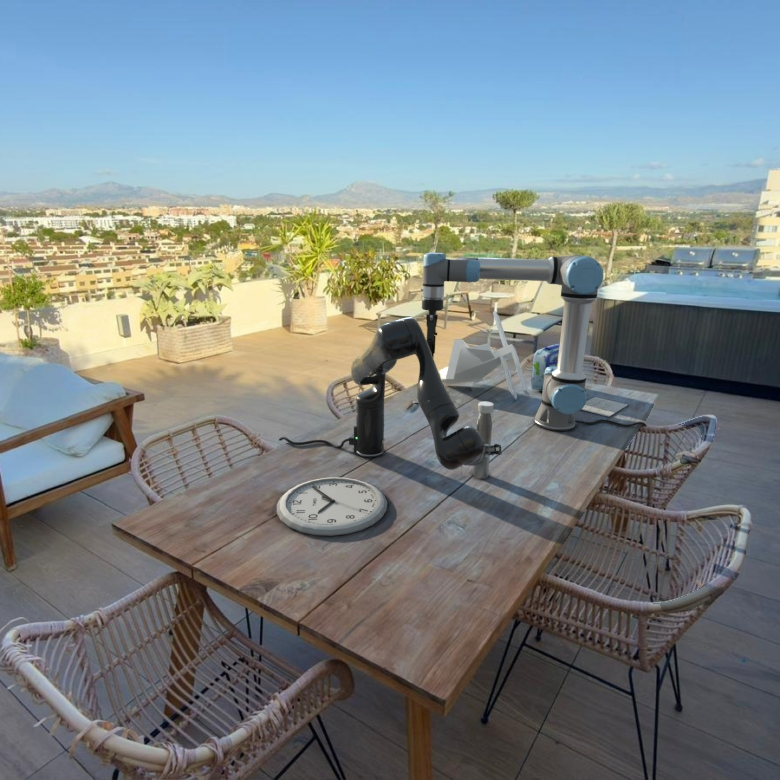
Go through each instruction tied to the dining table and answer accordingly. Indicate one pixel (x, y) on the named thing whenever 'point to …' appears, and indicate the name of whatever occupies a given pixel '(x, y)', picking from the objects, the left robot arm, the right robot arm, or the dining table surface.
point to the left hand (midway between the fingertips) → (476, 452)
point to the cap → (485, 407)
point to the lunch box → (543, 364)
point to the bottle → (485, 430)
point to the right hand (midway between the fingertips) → (430, 357)
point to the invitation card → (603, 406)
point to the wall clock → (331, 506)
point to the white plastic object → (482, 362)
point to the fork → (413, 403)
